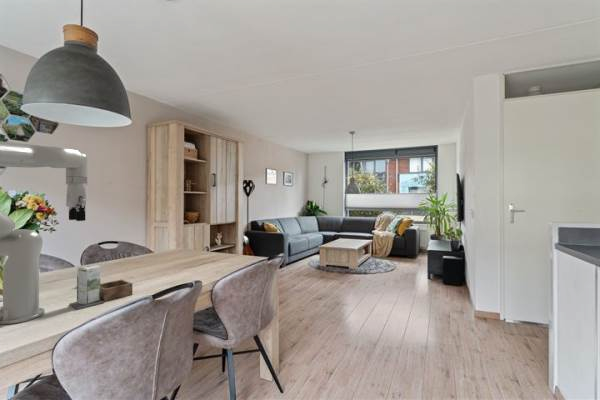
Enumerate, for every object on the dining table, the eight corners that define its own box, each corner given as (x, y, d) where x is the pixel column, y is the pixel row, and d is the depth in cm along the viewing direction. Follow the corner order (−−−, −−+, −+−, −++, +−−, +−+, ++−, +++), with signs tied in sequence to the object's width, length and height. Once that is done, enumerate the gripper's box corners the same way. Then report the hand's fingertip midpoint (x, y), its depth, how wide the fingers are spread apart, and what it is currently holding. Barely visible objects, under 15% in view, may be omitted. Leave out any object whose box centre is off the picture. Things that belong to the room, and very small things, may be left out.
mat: (77, 309, 113) (77, 308, 113) (69, 304, 119) (69, 303, 119) (103, 303, 121) (103, 301, 121) (95, 298, 126) (95, 297, 126)
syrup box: (90, 298, 124) (90, 264, 124) (100, 300, 122) (100, 265, 122) (76, 303, 119) (76, 267, 119) (86, 305, 117) (86, 268, 117)
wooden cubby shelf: (104, 301, 123) (104, 289, 123) (94, 296, 129) (94, 285, 129) (132, 294, 131) (132, 283, 131) (121, 290, 138) (121, 279, 138)
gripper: (60, 181, 132) (60, 220, 132) (72, 180, 121) (73, 221, 121) (80, 182, 138) (80, 219, 138) (94, 180, 127) (94, 220, 127)
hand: (77, 220), depth 129 cm, fingers open, 9 cm apart
